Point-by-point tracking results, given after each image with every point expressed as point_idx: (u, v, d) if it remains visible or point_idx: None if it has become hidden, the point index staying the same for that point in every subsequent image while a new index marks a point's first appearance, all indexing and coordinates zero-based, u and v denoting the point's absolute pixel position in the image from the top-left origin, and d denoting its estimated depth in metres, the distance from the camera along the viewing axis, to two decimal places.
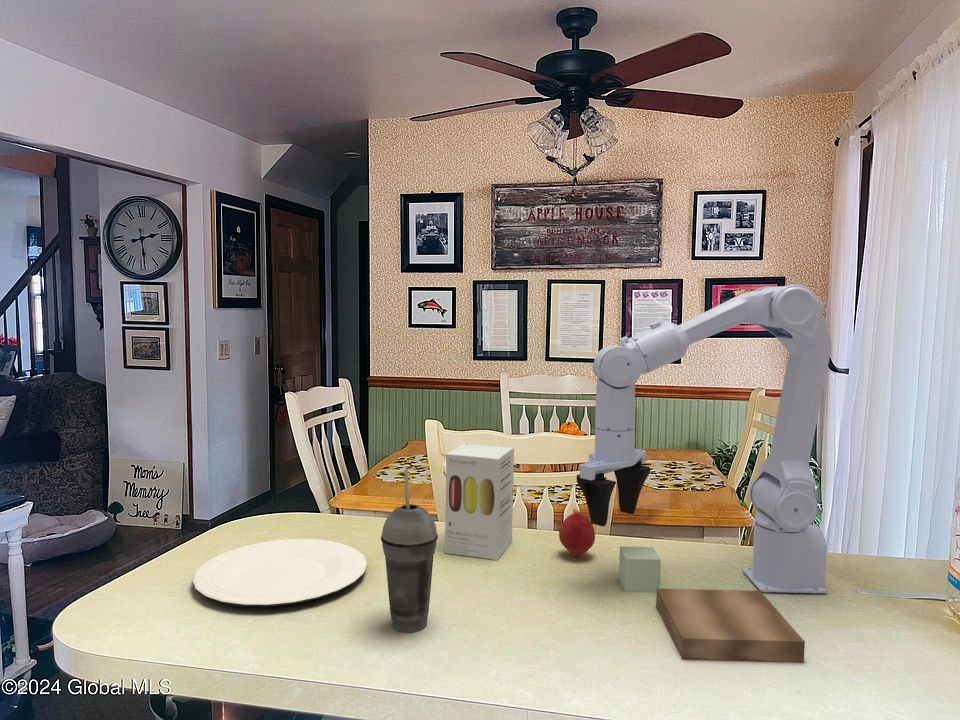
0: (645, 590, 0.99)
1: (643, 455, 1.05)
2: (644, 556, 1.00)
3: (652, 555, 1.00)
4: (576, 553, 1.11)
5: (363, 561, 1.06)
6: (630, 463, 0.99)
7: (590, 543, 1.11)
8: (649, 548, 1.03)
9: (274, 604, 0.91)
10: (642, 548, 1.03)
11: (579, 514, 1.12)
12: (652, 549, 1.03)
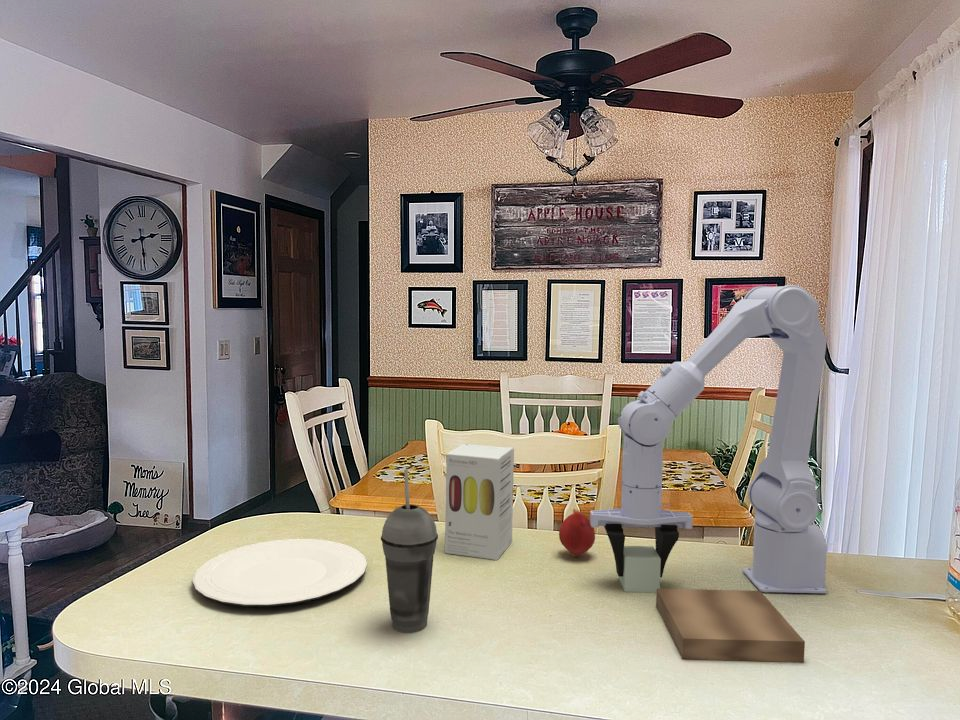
0: (645, 589, 0.99)
1: (685, 520, 0.99)
2: (644, 555, 1.00)
3: (652, 554, 1.00)
4: (576, 553, 1.11)
5: (363, 561, 1.06)
6: (641, 522, 0.98)
7: (590, 543, 1.11)
8: (648, 547, 1.03)
9: (274, 604, 0.91)
10: (642, 547, 1.03)
11: (579, 514, 1.12)
12: (652, 548, 1.03)
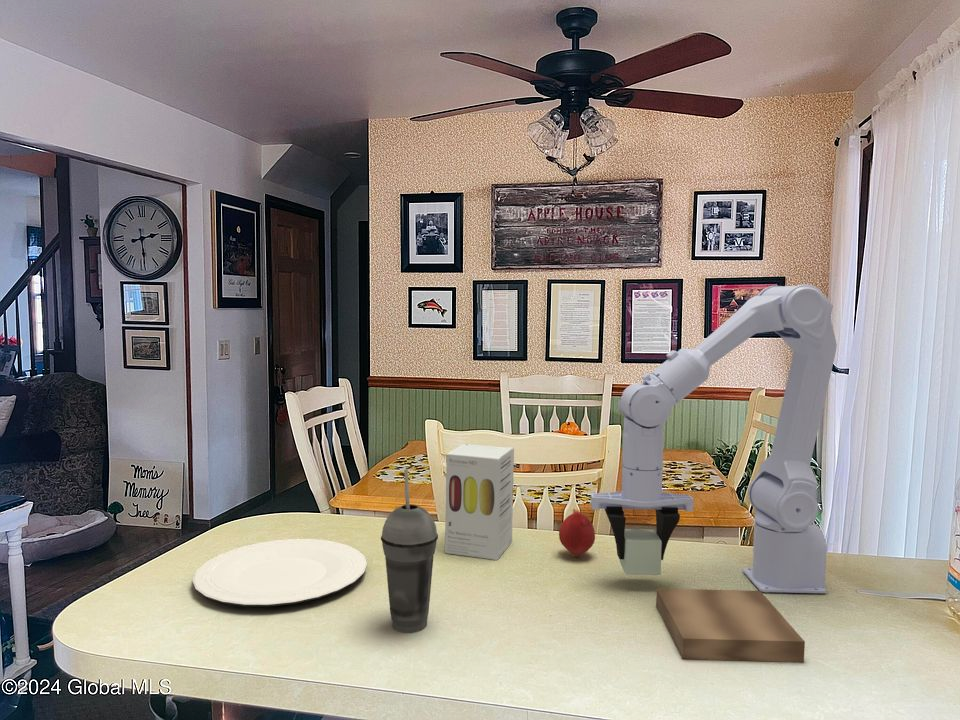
0: (646, 572, 0.99)
1: (686, 502, 0.99)
2: (645, 537, 1.00)
3: (653, 536, 1.00)
4: (576, 553, 1.11)
5: (363, 561, 1.06)
6: (642, 504, 0.98)
7: (590, 543, 1.11)
8: (649, 530, 1.03)
9: (274, 604, 0.91)
10: (643, 530, 1.03)
11: (579, 514, 1.12)
12: (653, 531, 1.02)
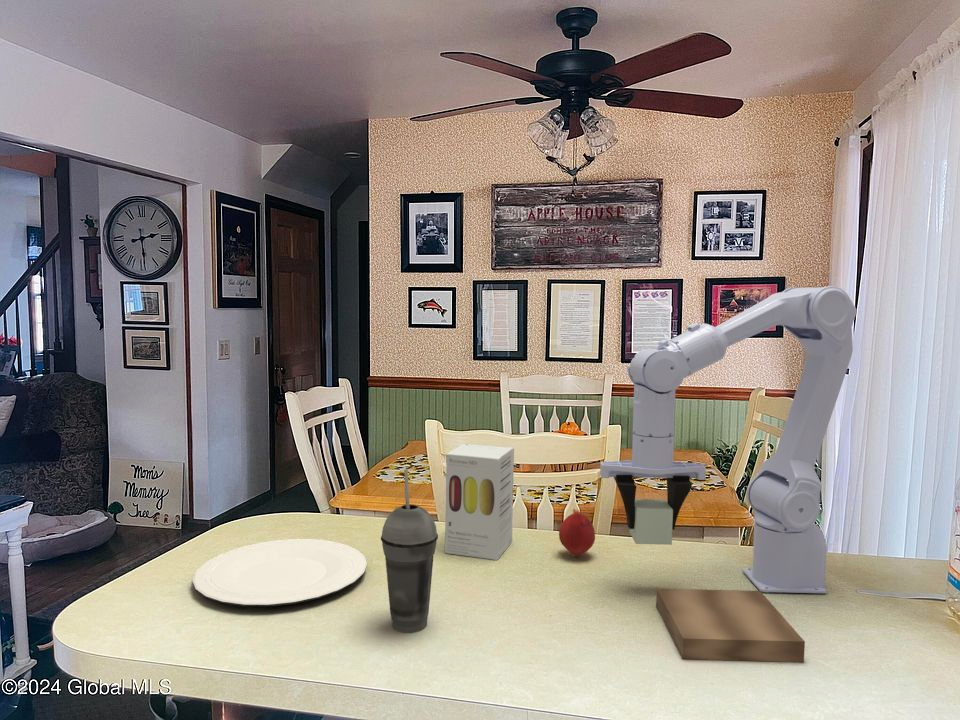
0: (657, 541, 0.97)
1: (698, 471, 0.97)
2: (655, 506, 0.97)
3: (664, 505, 0.98)
4: (576, 553, 1.11)
5: (363, 561, 1.06)
6: (653, 471, 0.95)
7: (590, 543, 1.11)
8: (660, 500, 1.00)
9: (274, 604, 0.91)
10: (653, 500, 1.01)
11: (579, 514, 1.12)
12: (663, 501, 1.00)
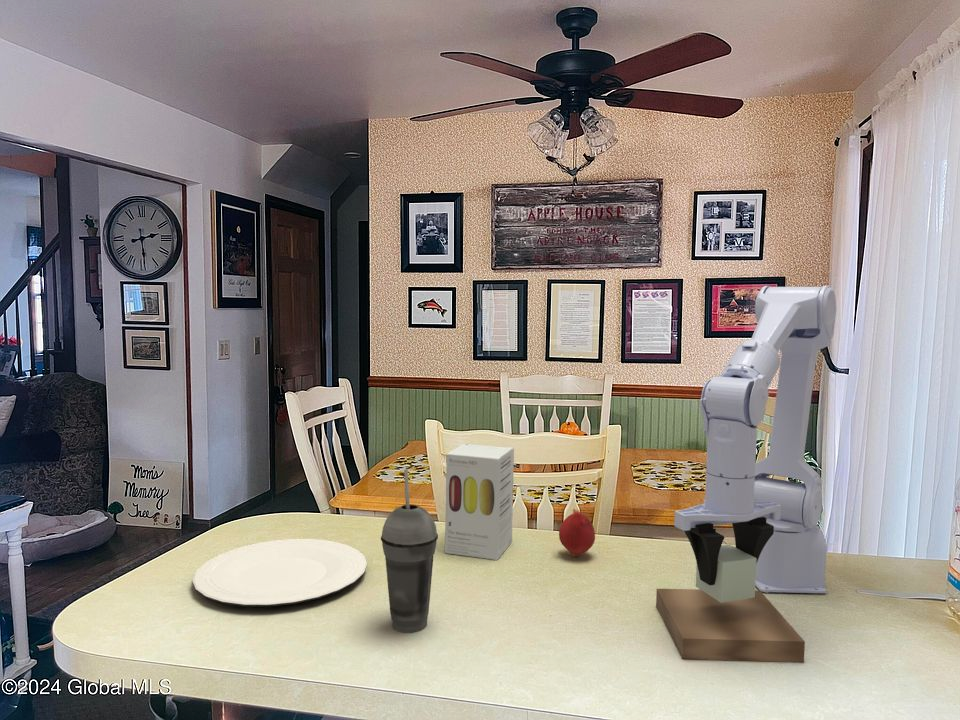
0: (741, 596, 0.85)
1: (775, 510, 0.87)
2: (735, 556, 0.86)
3: (741, 553, 0.86)
4: (576, 553, 1.11)
5: (363, 561, 1.06)
6: (742, 518, 0.83)
7: (590, 543, 1.11)
8: (727, 546, 0.89)
9: (274, 604, 0.91)
10: (721, 547, 0.89)
11: (579, 514, 1.12)
12: (732, 547, 0.89)
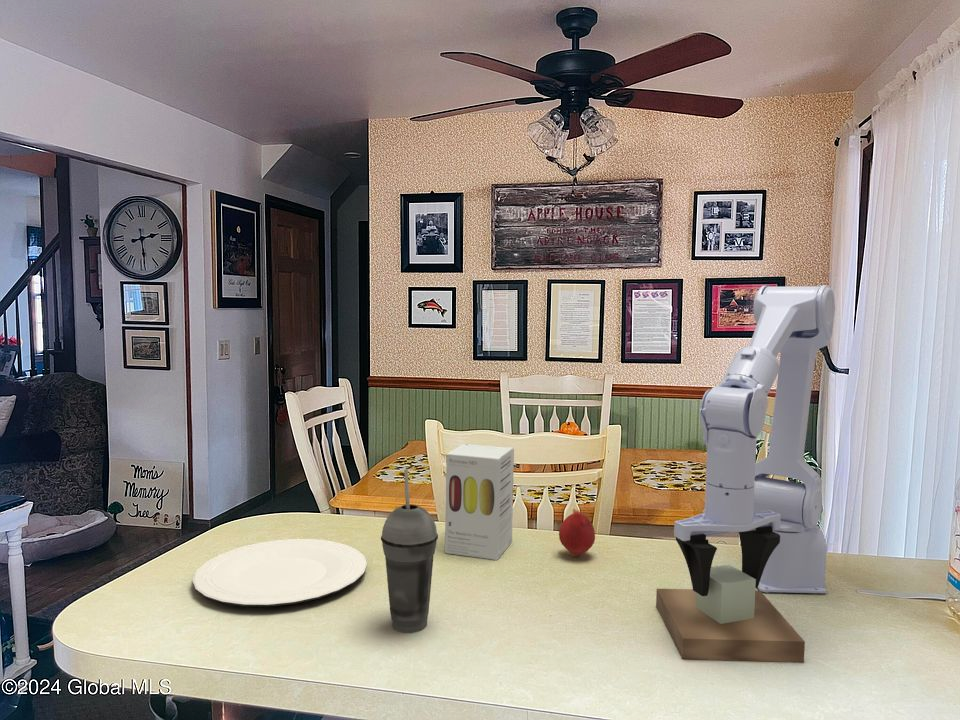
0: (740, 617, 0.85)
1: (774, 520, 0.87)
2: (734, 577, 0.86)
3: (741, 574, 0.87)
4: (576, 553, 1.11)
5: (363, 561, 1.06)
6: (741, 528, 0.83)
7: (590, 543, 1.11)
8: (727, 567, 0.89)
9: (274, 604, 0.91)
10: (721, 568, 0.89)
11: (579, 514, 1.12)
12: (731, 567, 0.89)
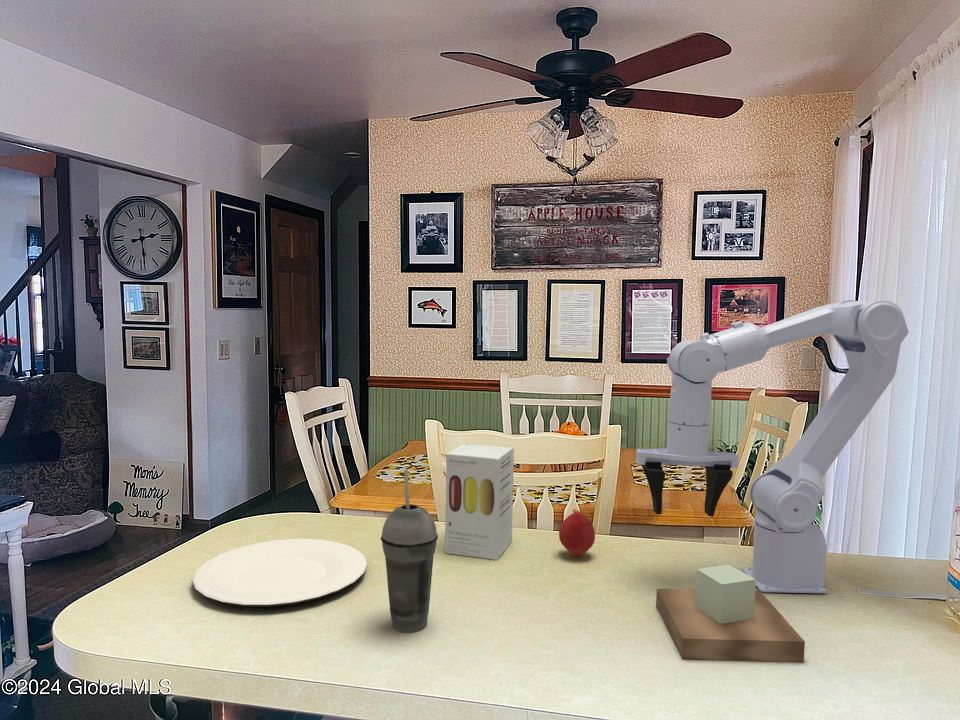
0: (740, 617, 0.85)
1: (732, 459, 1.00)
2: (734, 577, 0.86)
3: (741, 574, 0.87)
4: (576, 553, 1.11)
5: (363, 561, 1.06)
6: (689, 459, 0.98)
7: (590, 543, 1.11)
8: (727, 567, 0.89)
9: (274, 604, 0.91)
10: (721, 568, 0.89)
11: (579, 514, 1.12)
12: (731, 567, 0.89)
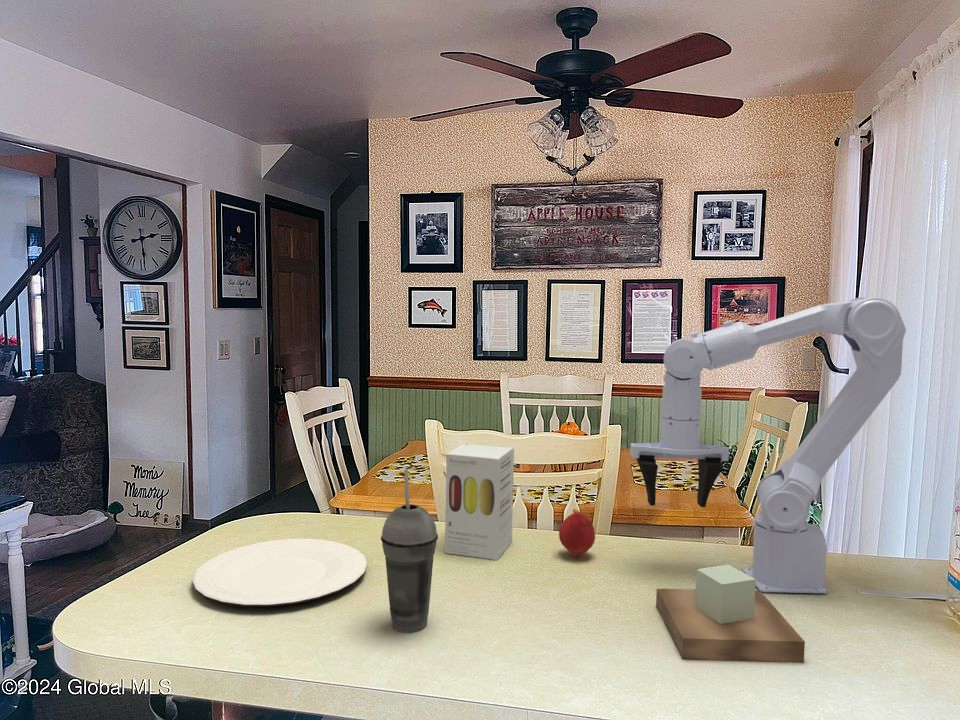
0: (740, 617, 0.85)
1: (722, 452, 1.05)
2: (734, 577, 0.86)
3: (741, 574, 0.87)
4: (576, 553, 1.11)
5: (363, 561, 1.06)
6: (681, 452, 1.03)
7: (590, 543, 1.11)
8: (727, 567, 0.89)
9: (274, 604, 0.91)
10: (721, 568, 0.89)
11: (579, 514, 1.12)
12: (731, 567, 0.89)
